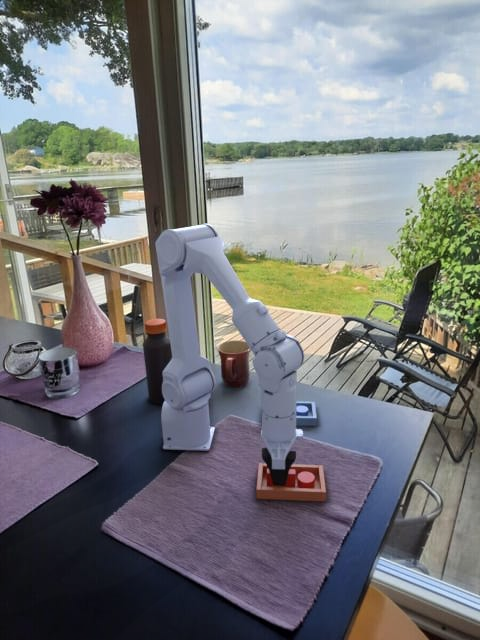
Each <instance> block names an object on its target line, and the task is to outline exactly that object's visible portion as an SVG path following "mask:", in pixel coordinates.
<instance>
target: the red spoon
mask: <svg viewBox="0 0 480 640" xmlns="http://www.w3.org/2000/svg"><path fill="white" fill-rule="evenodd" d="M295 479H296V473H295V469H290V470H289V473H288V477H287V481H286V484H285V486H293V487H295ZM267 485H268V486H281V485H273V483H272V480H271V476H270V472H269V469H268V468H267ZM297 485H298V487H299V488H307V489H313V488H314V486H315V476H314V475H313V474H312V473H310V472H306V471H305V472H301V473H299V474H298V476H297Z"/></svg>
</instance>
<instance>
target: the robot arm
mask: <svg viewBox="0 0 480 640" xmlns="http://www.w3.org/2000/svg"><path fill="white" fill-rule="evenodd" d="M154 244H155V245H154V246H155V252H156V258H157V264H158V272H159V275H160V280H161V288H162V295H163V301H164V309H165V316H166V324H167V329H168V337H169V338H170V344H171V351H172V359H171V361H170V362H169V363H168V365H167V366H166V368H165V369H164V370H163V372H162V374H163V384H162V394H163V397H164V399H165V401H164V403H163V404H162V407H161V413H160V414H161V416H160V419H161V430H162V432H161V433H162V441H163V445H162V449H163V450H168V451H169V450H171V451H200V452H202V451H204V452H208V451H210V449H211V445H212V442H213V438H214V434H215V431H216V427H214V426H211V422H210V421H211V420H210V407H209V406H210V405H209V399H211V398H212V395H211V393H213V391H214V390H215V389H216V385H217V381H216V376H215V373H214V372H213V370H212V366H211V365H212V364H211V361H210V360H209V359H208V358H207V357H205V356H203V355H201V352H200V343H199V335H198V328H197V319H196V311H195V310H196V309H195V304H194V303H195V302H194V296H193V294H194V293H193V288H192V286H193V285H192V280H191V277H192V276H193V275H194V273H195V274H201V275H205V277H206V278H207V279H208V280H209V282H210V283H211V285H212V286H213V287H214V288H215V289H216V290H217V292H218V293H219V294H220V296H221V297H222V299H224V300H225V302H226V303H227V304H228V306H229V307H230V308H231V310H232V316H231V322H232V323H233V325H234V326H235V328H236V329H237V331H238V333H239V334H240V336H241V337H242V339H243V341H245V342H246V343H247V344H248V346H249V347H250V349H251V352H252V353H253V355H254V356H255V358H254V359H252V366H253V369H254V371H255V373H256V375H257V377H258V385H259V386H260V389H261V393H260V394H261V429H260V437H261V440H262V442H263V444H264V445H265V447H262V448H261V458H262V460H263V463H266V465H267V466H268V469H269V472H270V476H271V480H272V483H273V485H281V486H285V484H286V481H287V477H288V473H289V470H290V467H291V465H292V464H295V462H296V459H297V451H296V450H291V449H292V448H293V446H294V445H295V443H296V441H298V440H302V439H303V440H304V431H303V429H300V428H298V429H297V425H296V401H297V394H298V393H297V391H298V390H297V389H298V388H297V387H298V386H297V385H298V384H297V383H298V382H297V381H298V371H297V370H298V369H299V368H300V367H301V366H302V365H303V364H304V361H305V353H304V349H303V347H302V345H301V342H300V341H299V340H298V339H297V338H296V337H295V336H292V335H289V334H287V332H286V331H284V330H283V329H281V328H280V326H279V325H278V324H277V323H276V321H275V320H274V318H273V317H272V315H271V313H270V311H269V308H268V307H267V306H266V305H265V304H263V302H262V301H261V300H258V299H254V298H251V297H250V296H249V294H248V292H247V290H246V288H245V287H244V285H243V284H242V281H241V280H240V278H239V276H238V275H237V274H236V271H235V270H234V268H233V267H232V265H231V263H230V261H229V260H228V258H227V256H226V254H225V242H224V240H223V238H222V237H220V235H219V233H218V231H217V229H216V228H215V227H214V226H213V225H211V224H210V223H201V224H198V225H194V226H187V227H180V228H174V229H172V228H169V229H165V230H163V231H162V232H161V234H160V235H159V236H158V237H157V239H156V241H155V242H154Z"/></svg>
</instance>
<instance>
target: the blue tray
mask: <svg viewBox="0 0 480 640" xmlns="http://www.w3.org/2000/svg"><path fill="white" fill-rule="evenodd" d="M297 406H306V407H307V408H308V416H296V426H302V427H303V426H304V427H305V426H306V427H307V426H308V427H317V425H318V416H317V407H316V402H315V401H301V400H300V401H299V400H298V401H297V400H296V407H297Z"/></svg>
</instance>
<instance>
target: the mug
mask: <svg viewBox="0 0 480 640" xmlns="http://www.w3.org/2000/svg"><path fill="white" fill-rule="evenodd" d="M216 350H217V352H218V355H219V358H220V359H219V360H220V377H221V381H222V384H223V385H224V386H226V387H228V388H231V389H239V388H243V387H245V386H247V385H248V384H249V382H250V376H251V371H250V356H251V355H250V354H251V352H252V350H251V349H250V347H249V346H248V344H247V343H246V341H245V340H228V341H223V342H221V343H219V344H218V345H217V346H216Z"/></svg>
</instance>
